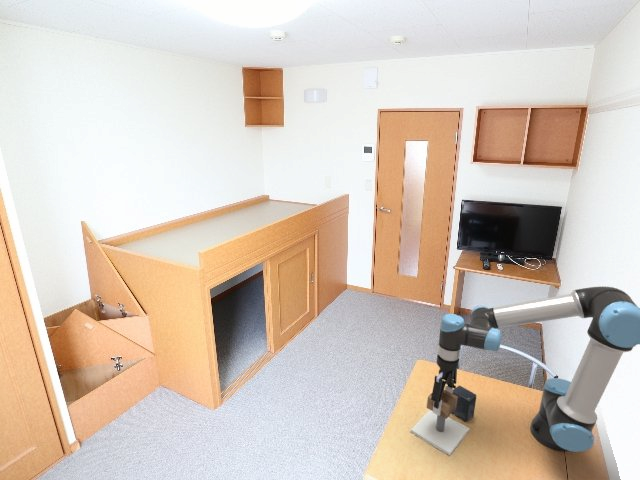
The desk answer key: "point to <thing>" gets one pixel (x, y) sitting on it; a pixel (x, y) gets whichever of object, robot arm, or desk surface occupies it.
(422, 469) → the desk surface
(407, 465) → the desk surface
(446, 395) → the collar
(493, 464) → the desk surface
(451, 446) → the thin white baseboard
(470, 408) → the box
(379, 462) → the desk surface
